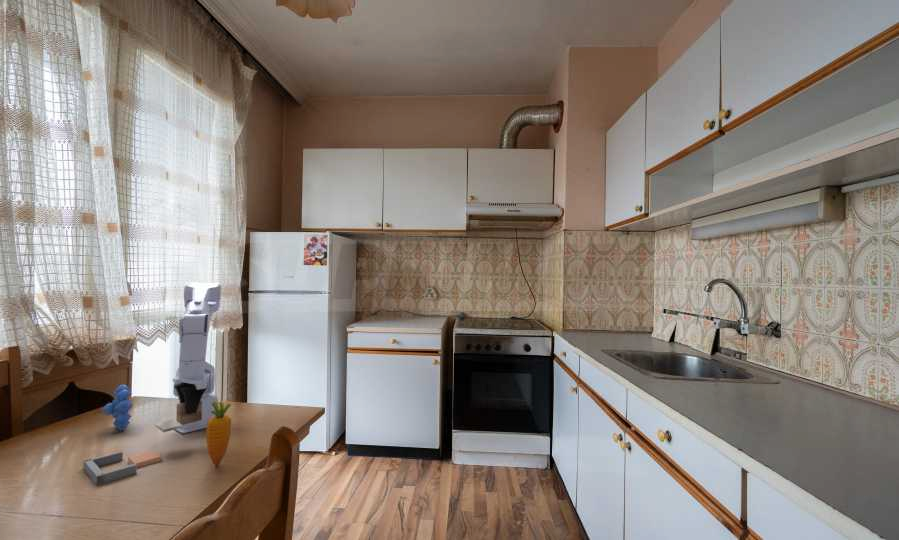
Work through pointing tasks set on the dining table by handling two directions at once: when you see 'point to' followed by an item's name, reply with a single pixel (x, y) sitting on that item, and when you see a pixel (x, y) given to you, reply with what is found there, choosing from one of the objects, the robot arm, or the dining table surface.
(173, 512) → the dining table surface
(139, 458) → the tile
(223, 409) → the carrot
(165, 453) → the dining table surface
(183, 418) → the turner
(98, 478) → the bay
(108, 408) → the grapes
